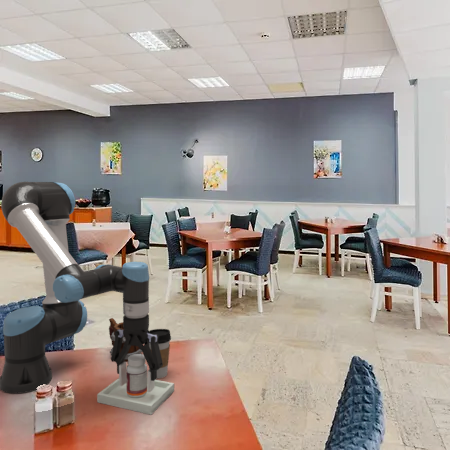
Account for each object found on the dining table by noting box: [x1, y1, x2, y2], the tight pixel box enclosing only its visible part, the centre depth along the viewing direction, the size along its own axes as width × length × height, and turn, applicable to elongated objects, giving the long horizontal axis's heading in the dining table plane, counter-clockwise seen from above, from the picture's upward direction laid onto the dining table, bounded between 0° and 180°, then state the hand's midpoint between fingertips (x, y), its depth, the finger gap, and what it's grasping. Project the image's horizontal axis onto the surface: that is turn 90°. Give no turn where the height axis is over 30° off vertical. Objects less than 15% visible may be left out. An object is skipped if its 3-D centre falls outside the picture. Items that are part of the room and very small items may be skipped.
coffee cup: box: [147, 328, 172, 379], centre depth 135 cm, size 8×8×15 cm
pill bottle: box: [126, 353, 148, 398], centre depth 121 cm, size 6×6×11 cm
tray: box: [96, 377, 175, 415], centre depth 121 cm, size 18×14×2 cm
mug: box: [108, 317, 143, 363], centre depth 150 cm, size 12×14×15 cm
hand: (136, 387), depth 121 cm, fingers open, 9 cm apart
